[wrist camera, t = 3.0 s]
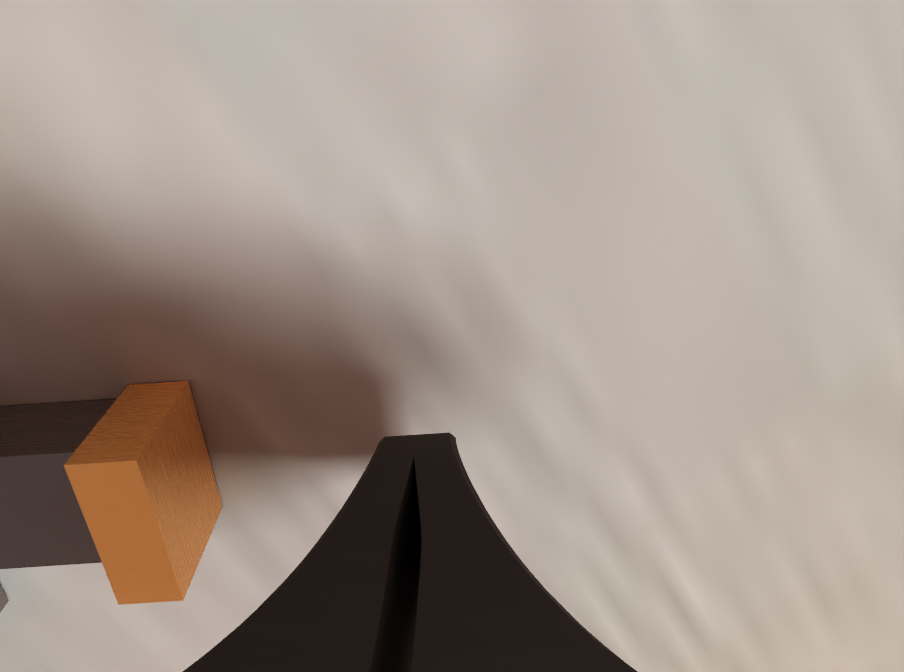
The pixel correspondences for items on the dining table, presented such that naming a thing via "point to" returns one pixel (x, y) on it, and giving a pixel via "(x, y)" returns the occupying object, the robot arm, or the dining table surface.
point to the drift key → (110, 488)
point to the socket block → (2, 599)
